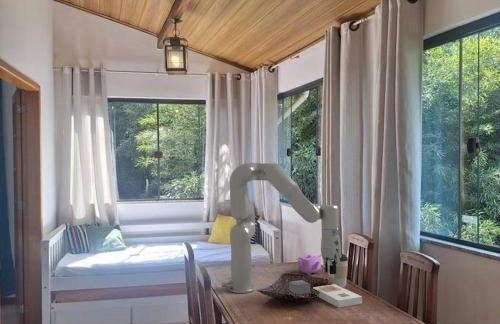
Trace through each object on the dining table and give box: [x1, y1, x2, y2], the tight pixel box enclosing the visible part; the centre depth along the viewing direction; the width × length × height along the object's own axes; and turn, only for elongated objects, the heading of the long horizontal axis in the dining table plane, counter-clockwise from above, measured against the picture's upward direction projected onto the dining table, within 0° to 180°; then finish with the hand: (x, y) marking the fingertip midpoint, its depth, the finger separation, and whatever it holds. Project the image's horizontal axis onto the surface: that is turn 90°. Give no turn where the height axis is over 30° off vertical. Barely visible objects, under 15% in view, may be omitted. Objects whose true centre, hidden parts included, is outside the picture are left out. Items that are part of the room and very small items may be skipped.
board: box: [312, 284, 363, 309], centre depth 193 cm, size 12×20×3 cm, turn 24°
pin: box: [327, 259, 334, 279], centre depth 198 cm, size 3×3×8 cm
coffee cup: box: [330, 253, 349, 288], centre depth 214 cm, size 9×9×15 cm
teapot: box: [296, 254, 322, 276], centre depth 236 cm, size 18×13×10 cm
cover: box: [288, 279, 311, 294], centre depth 197 cm, size 7×7×6 cm
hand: (330, 272), depth 198 cm, fingers closed on pin, 2 cm apart
